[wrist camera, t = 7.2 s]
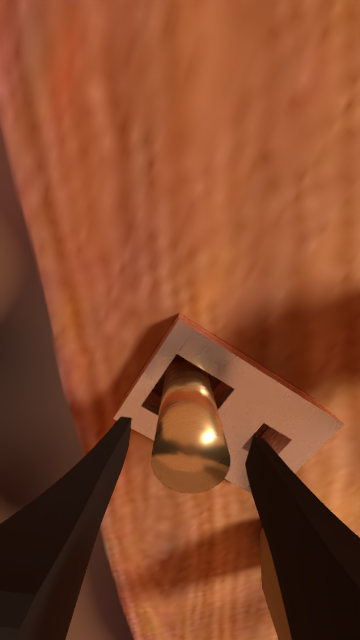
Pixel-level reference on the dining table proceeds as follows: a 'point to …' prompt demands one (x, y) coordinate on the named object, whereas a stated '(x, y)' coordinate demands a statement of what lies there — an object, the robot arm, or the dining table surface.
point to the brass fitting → (189, 433)
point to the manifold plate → (234, 400)
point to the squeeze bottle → (272, 590)
